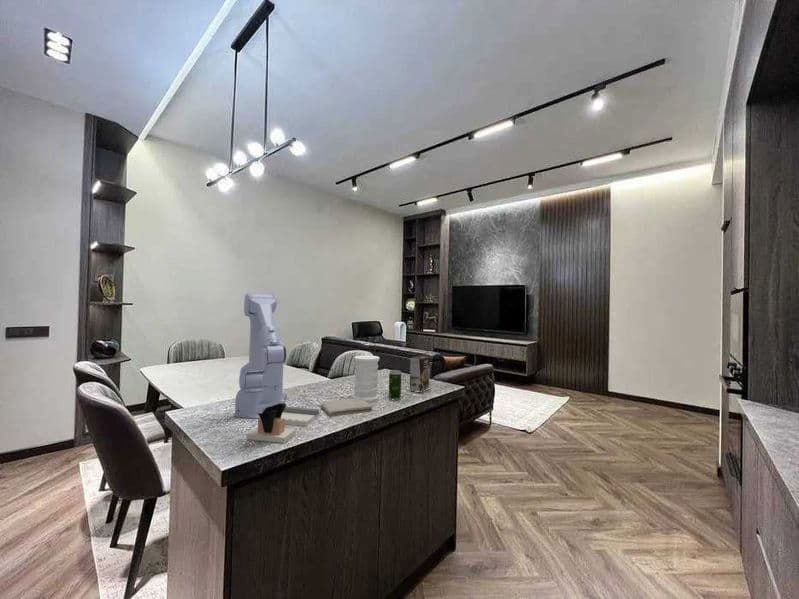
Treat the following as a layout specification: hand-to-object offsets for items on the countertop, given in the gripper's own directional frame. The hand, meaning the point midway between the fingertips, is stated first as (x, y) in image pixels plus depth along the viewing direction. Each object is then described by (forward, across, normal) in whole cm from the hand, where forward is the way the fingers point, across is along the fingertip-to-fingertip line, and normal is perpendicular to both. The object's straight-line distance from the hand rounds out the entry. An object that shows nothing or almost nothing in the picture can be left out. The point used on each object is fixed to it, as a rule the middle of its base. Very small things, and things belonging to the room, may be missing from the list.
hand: (271, 430), depth 103 cm
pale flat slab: (+2, 0, 0) cm, 2 cm away
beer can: (+2, +52, -28) cm, 59 cm away
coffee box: (+2, +69, -37) cm, 79 cm away
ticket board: (+2, +17, 0) cm, 17 cm away
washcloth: (+3, +32, -13) cm, 35 cm away
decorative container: (+2, +48, -16) cm, 51 cm away
